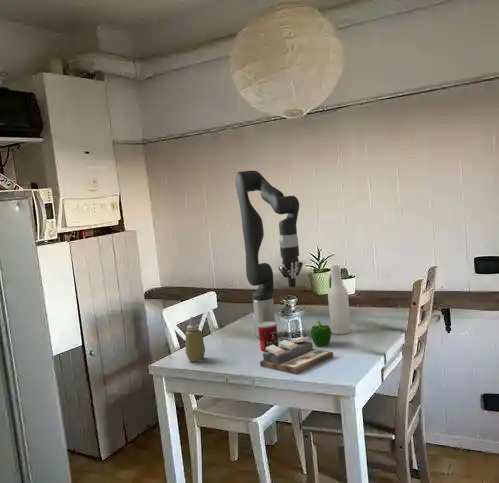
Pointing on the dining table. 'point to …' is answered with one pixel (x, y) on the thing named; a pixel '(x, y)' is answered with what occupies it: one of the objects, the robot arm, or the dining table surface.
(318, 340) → the bell pepper
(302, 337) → the rocker
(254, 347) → the dining table surface
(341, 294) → the alcohol
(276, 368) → the switch box
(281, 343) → the rocker
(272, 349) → the rocker
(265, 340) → the canned food
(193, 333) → the squeeze bottle
